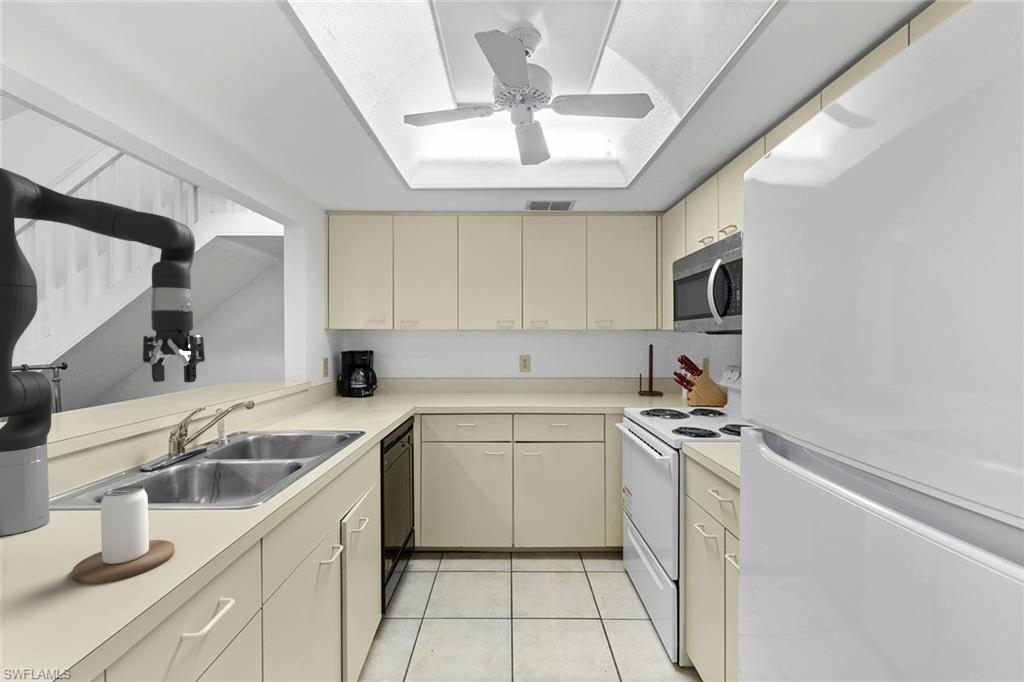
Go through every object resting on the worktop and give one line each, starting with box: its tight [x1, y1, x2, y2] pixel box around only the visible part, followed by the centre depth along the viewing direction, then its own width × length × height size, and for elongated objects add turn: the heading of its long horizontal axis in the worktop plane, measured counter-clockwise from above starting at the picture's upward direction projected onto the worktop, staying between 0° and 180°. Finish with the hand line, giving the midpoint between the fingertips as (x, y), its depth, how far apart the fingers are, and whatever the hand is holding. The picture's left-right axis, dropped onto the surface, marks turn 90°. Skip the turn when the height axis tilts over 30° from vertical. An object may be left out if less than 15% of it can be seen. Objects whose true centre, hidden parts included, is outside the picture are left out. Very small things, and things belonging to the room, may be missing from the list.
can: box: [100, 484, 150, 565], centre depth 84 cm, size 6×6×12 cm
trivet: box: [71, 539, 175, 584], centre depth 84 cm, size 14×14×1 cm
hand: (174, 381), depth 105 cm, fingers open, 8 cm apart
